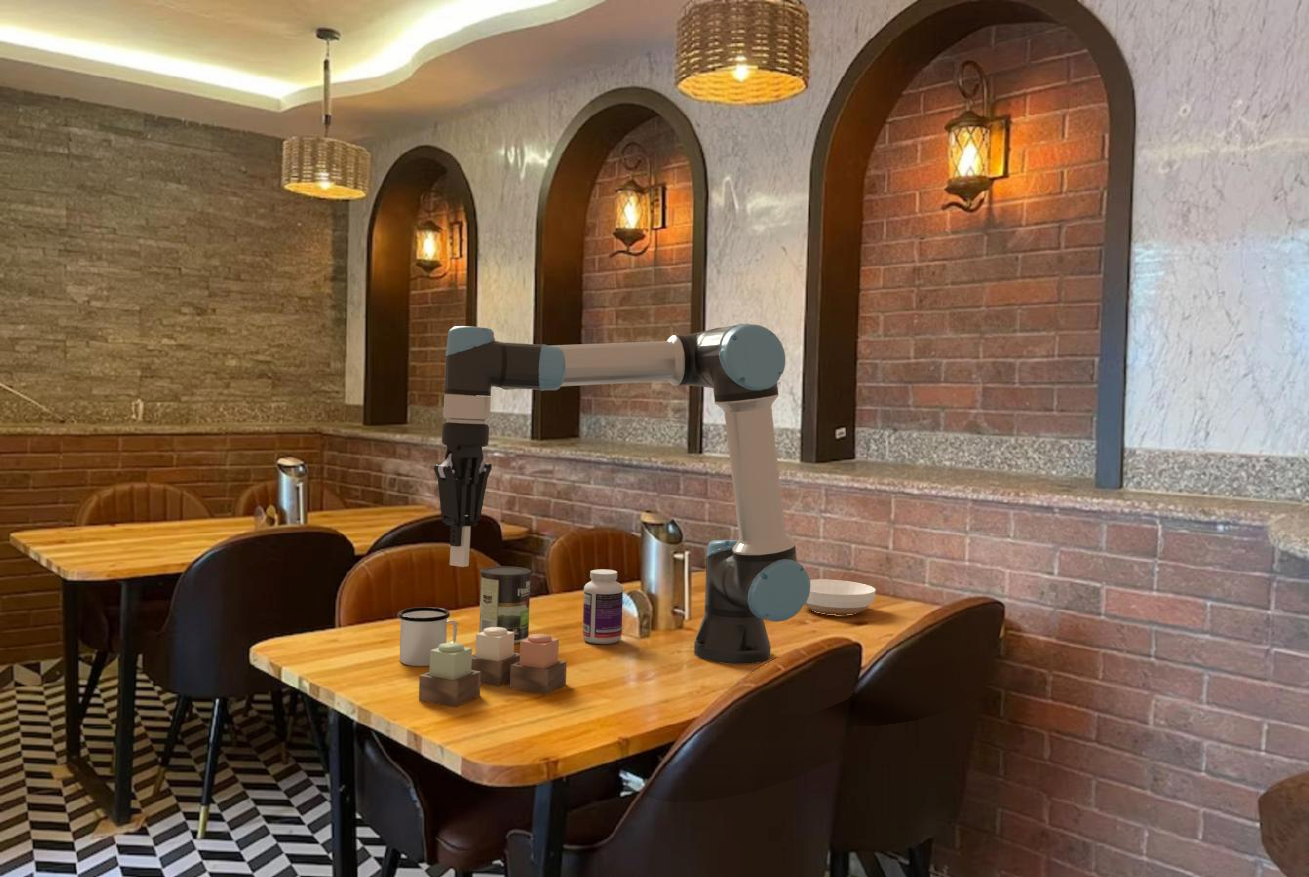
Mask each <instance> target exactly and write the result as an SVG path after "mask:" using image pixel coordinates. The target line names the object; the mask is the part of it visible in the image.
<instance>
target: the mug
mask: <svg viewBox="0 0 1309 877" xmlns="http://www.w3.org/2000/svg"><path fill="white" fill-rule="evenodd" d="M450 616H451V612H450V611H449V610H448V609H446V608H442V607H432V606H431V607H429V606H423V607H422V606H420V607H419V606H418V607H410V608H406V609H405V608H404V609H402V610H400V611H398V612H397V618H398V619H399V620H400V635H399V638H400V639H399V662H400V663H402V664H404V665H406V666H411V667H430V650H433V649H436V648H439V645H440V644H443V643H447V635H448V634H447V633H448V632H447V628H448V626H447V624H450V623H452V624H453V627H452V628H453V632H452V640H451V641H450V642H449V643H457V642H456V640H457V633H458V632H457V631H458V628H457V627H458V622H457V621H456V620H454V619H449V618H450Z"/></svg>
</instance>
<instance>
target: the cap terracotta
mask: <svg viewBox="0 0 1309 877" xmlns="http://www.w3.org/2000/svg"><path fill="white" fill-rule="evenodd" d="M559 641H560V639H559V638H556V637H555V638H554V637H552V635H550V634H548V633H547V634H546V633H534V634H529V635H528V638H527V639H524V640H522V641H520V643H519V654H520V665H522V666H528V667H534V668H540V669H547V668H549V667H551V666H553V665H555V664H557V663H558V660H559V646H560V644H559V643H560V642H559Z"/></svg>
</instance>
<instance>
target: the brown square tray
mask: <svg viewBox="0 0 1309 877" xmlns="http://www.w3.org/2000/svg"><path fill="white" fill-rule="evenodd" d="M480 677H481V672H480V671H474V670H471V674H469V675H466V676H464V677H461V678H459V679H457V680H450V679H444V678H439V677H433V676H429V671H428V672H425V673H422V674H420V675H419V681H418V684H419V686H418V701H421V702H428V703H433V704H439V705H441V706H442V705H443V706H448V707H453V708H456V707H458V706H460V705H462V704H464V703H468V702H469V701H471V700H473V699H475V698H477V697H480V696H481V683H480Z"/></svg>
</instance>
